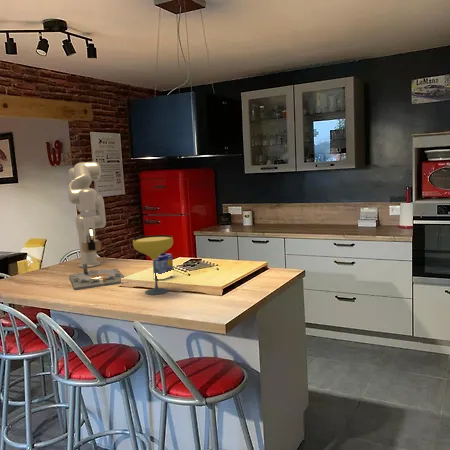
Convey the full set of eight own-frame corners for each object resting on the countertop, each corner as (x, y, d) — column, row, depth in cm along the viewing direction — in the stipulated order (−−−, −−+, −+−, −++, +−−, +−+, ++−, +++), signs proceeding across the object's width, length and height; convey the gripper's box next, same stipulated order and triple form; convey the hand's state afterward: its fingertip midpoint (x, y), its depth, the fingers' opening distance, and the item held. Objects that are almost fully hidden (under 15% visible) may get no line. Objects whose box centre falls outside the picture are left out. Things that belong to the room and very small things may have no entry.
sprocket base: (69, 277, 257) (68, 271, 256) (116, 270, 266) (116, 265, 266) (74, 290, 227) (74, 283, 227) (128, 282, 237) (127, 276, 237)
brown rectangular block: (82, 251, 239) (81, 241, 239) (97, 249, 244) (96, 239, 243) (85, 252, 235) (84, 242, 235) (101, 250, 240) (100, 240, 239)
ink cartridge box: (161, 280, 237) (159, 252, 235) (153, 279, 240) (151, 252, 238) (174, 276, 245) (172, 249, 243) (166, 275, 248) (164, 248, 246)
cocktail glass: (133, 290, 222) (129, 237, 218) (171, 284, 228) (167, 233, 225) (141, 299, 205) (136, 243, 202) (181, 293, 211) (177, 238, 208)
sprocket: (63, 280, 242) (61, 268, 241) (96, 270, 263) (95, 259, 262) (97, 284, 230) (96, 271, 230) (130, 273, 251) (129, 261, 250)
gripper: (79, 213, 244) (82, 247, 246) (82, 216, 228) (85, 252, 230) (93, 212, 247) (97, 245, 249) (98, 214, 231) (101, 250, 233)
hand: (91, 248), depth 240 cm, fingers closed on brown rectangular block, 5 cm apart
